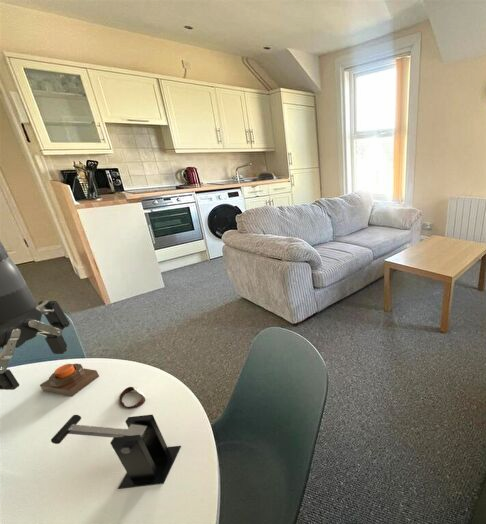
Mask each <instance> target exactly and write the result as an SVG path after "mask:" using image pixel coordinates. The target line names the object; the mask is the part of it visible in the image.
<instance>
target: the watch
mask: <svg viewBox="0 0 486 524" xmlns="http://www.w3.org/2000/svg"><path fill="white" fill-rule="evenodd" d="M131 392H136V393H138V394H139V395H140V396H141V398H140V400H139V401H138V402H137V403H136V404H134V405H130V406H126V405H125V403H124V402H123V398H124V396H126V395H127V394H128V393H131ZM145 396H146V394H144V392H142V391H141V390H140V389H139V388H137V387H136V386H135V387H134V386H128V387H126V388H125V389H123V390H122V392H121V393H120V395H119V398H118V400H119V404H120V406H122V407H123V408H126V409H130V410H133V409H137V408H140V407H141V406H143V405H144V404H145V402H146V397H145Z"/></svg>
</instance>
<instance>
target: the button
mask: <svg viewBox="0 0 486 524" xmlns="http://www.w3.org/2000/svg"><path fill="white" fill-rule="evenodd" d="M72 364H73V363H66V364H63V365H61V366H59V367H57V368H55V370H54V371H53V373H55V375H56V377H57V378H58V379H60V378H64V377H66V376H68V375H70V374H72V373H73V372H74V371H75V368H74V367H73V365H72Z"/></svg>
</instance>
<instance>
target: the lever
mask: <svg viewBox="0 0 486 524" xmlns="http://www.w3.org/2000/svg"><path fill="white" fill-rule="evenodd" d="M81 420H82V416H81V415H79V414H73V415H72V416H71V417H70V418H69V419H68V420H67V421H66V423H65V424H63V426H62V427H61V428H60V429H59V430H58V431H57V432H56V433H55V434H54V435H53V437H52V438H51V439H50V442H51V443H52V444H55V445H58V444H61V443H62V442H63V441H64V440H65V438H66V437H67V436H68V435H77V436H88V437H101V438H112V439H113V438H114V437H123V436H132V435H140V436H141V438H142V440H143V441H144V439H145V437H146V436H147V425H136V424H131V425H130V426H129V428H128V427H127V428H118V427H106V426H95V425H83V424H78V423H79V422H80V421H81Z"/></svg>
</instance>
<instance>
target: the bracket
mask: <svg viewBox="0 0 486 524" xmlns="http://www.w3.org/2000/svg"><path fill="white" fill-rule="evenodd" d="M131 424H136V425H147V436H146V437H145V439H144V441H143V440H142V438H141V436H140V435H132V436H123V437H114V438H112V439H111V441H110V445H111V447H112V449H113V450H114V452H115V454H116V456H117V458H118V460H119V461H120V463H121V464H122V466H123V469H124V470H125V472H126V474H125V475H124V477H123V479H122V480H121V482H120V484H119V485H118V487H117V489H118V490H122V489H131V488H140V487H148V486H155V485H157V486H158V485H164V484H165V482H166V480H167V478H168V476H169V474H170V471H171V469H172V467H173V465H174V463H175V461H176V458H177V457H178V454H179V453H180V450H181V448H182V445H174V446H168V445H167V443H166V441H165V439H164V437H163V434H162V432H161V429H160V428H159V425H158V423H157V421H156V418H155V417H154V414H144V415H136V416H135V415H134V416H128V417H127V418H126V420H125V425H126V426H127V429H128V428H129V426H130V425H131Z"/></svg>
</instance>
